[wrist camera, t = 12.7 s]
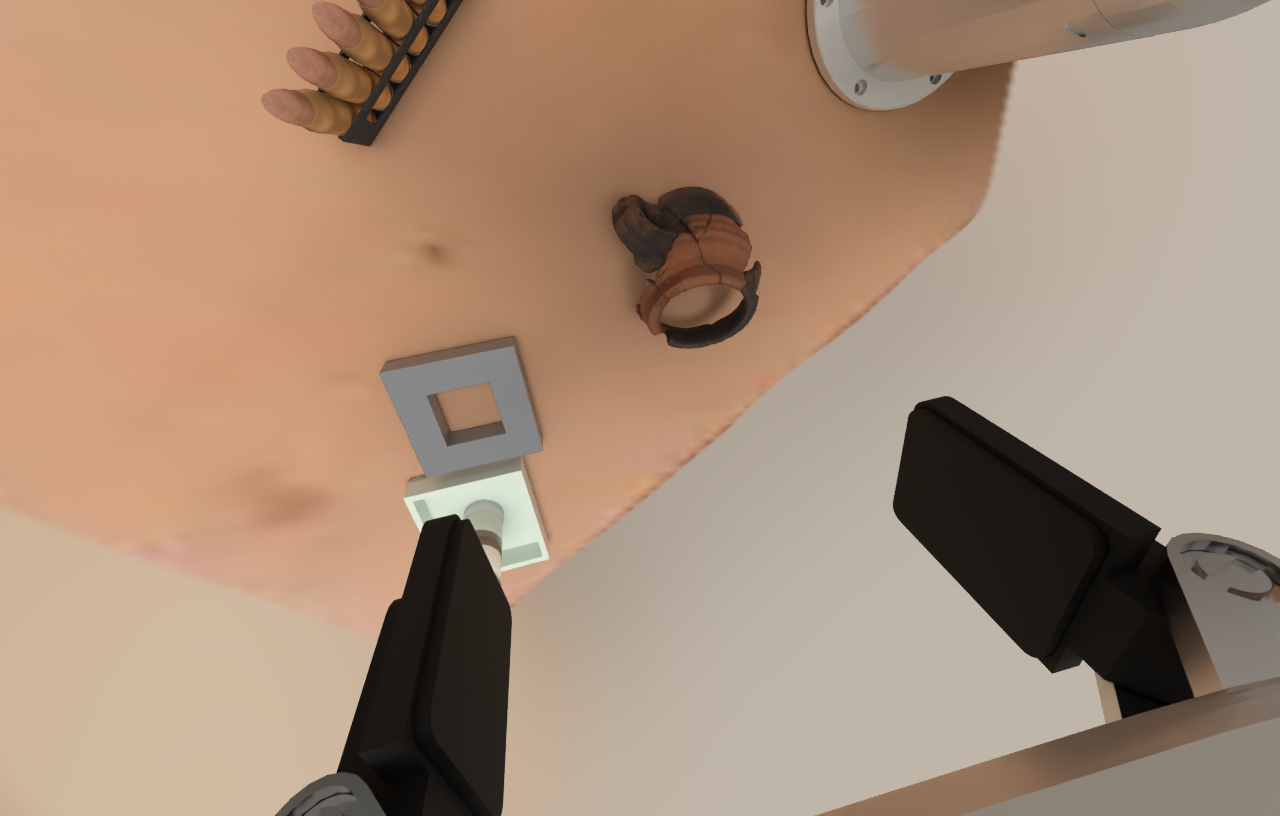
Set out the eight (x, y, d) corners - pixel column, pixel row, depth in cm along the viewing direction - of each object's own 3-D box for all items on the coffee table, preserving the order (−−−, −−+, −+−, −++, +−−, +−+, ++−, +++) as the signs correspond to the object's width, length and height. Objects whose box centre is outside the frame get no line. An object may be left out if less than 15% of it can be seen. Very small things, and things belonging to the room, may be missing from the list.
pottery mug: (765, 218, 35) (800, 300, 31) (676, 295, 41) (696, 373, 37) (646, 117, 28) (671, 207, 24) (558, 228, 33) (565, 317, 29)
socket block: (513, 336, 35) (513, 345, 33) (542, 437, 39) (543, 450, 37) (386, 361, 33) (379, 373, 32) (430, 463, 38) (426, 478, 36)
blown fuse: (497, 495, 40) (492, 577, 32) (508, 523, 42) (505, 608, 34) (458, 505, 40) (443, 590, 32) (470, 533, 41) (459, 621, 34)
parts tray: (521, 452, 39) (521, 470, 37) (548, 539, 44) (549, 558, 42) (409, 478, 38) (403, 498, 36) (450, 564, 43) (446, 585, 41)
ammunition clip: (444, -56, 24) (390, -207, 14) (476, -22, 25) (447, -141, 15) (337, 121, 27) (222, 104, 16) (369, 147, 28) (280, 145, 17)
